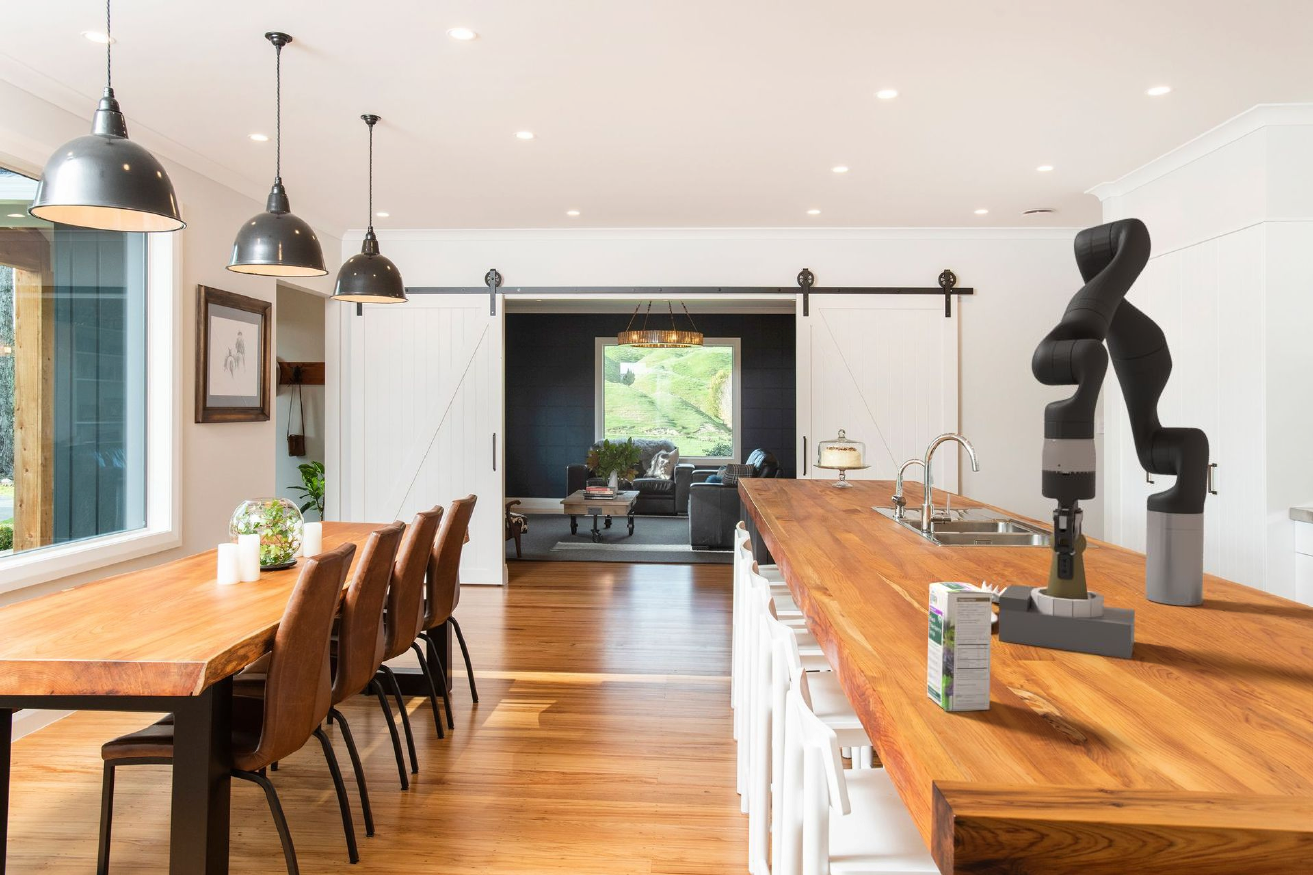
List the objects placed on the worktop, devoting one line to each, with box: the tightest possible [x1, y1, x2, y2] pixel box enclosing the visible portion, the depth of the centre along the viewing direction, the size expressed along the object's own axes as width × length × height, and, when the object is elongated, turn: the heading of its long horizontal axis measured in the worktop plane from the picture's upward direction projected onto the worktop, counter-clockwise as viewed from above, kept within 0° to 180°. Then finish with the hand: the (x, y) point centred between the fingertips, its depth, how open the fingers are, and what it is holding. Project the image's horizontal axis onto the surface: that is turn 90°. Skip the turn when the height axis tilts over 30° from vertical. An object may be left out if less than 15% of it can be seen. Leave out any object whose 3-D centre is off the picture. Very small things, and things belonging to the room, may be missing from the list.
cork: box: [1046, 532, 1088, 600], centre depth 127 cm, size 6×6×11 cm
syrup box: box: [926, 581, 993, 712], centre depth 100 cm, size 6×6×14 cm
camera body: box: [998, 584, 1136, 660], centre depth 127 cm, size 11×18×8 cm, turn 57°
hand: (1067, 575), depth 127 cm, fingers closed on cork, 4 cm apart
